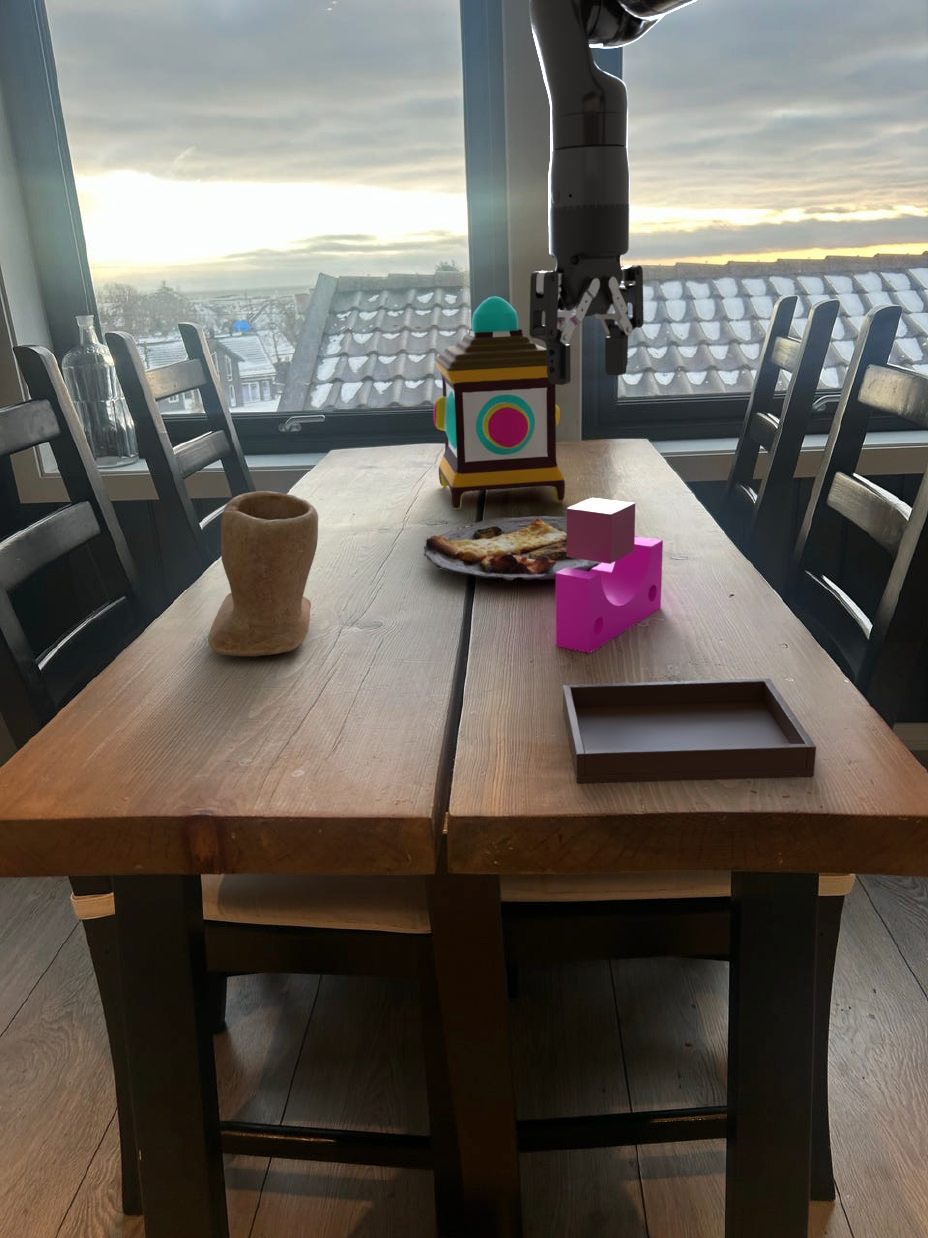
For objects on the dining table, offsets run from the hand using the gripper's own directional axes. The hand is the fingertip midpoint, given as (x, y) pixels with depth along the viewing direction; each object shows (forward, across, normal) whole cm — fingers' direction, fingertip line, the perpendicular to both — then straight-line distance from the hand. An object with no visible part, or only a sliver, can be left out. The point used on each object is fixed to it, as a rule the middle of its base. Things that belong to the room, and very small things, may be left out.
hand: (588, 379), depth 99 cm
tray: (+24, -19, -25) cm, 40 cm away
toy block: (+24, -3, -4) cm, 25 cm away
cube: (+17, -3, -4) cm, 17 cm away
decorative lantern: (+24, +32, +45) cm, 60 cm away
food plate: (+24, +8, +18) cm, 31 cm away
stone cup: (+24, -28, +19) cm, 42 cm away
